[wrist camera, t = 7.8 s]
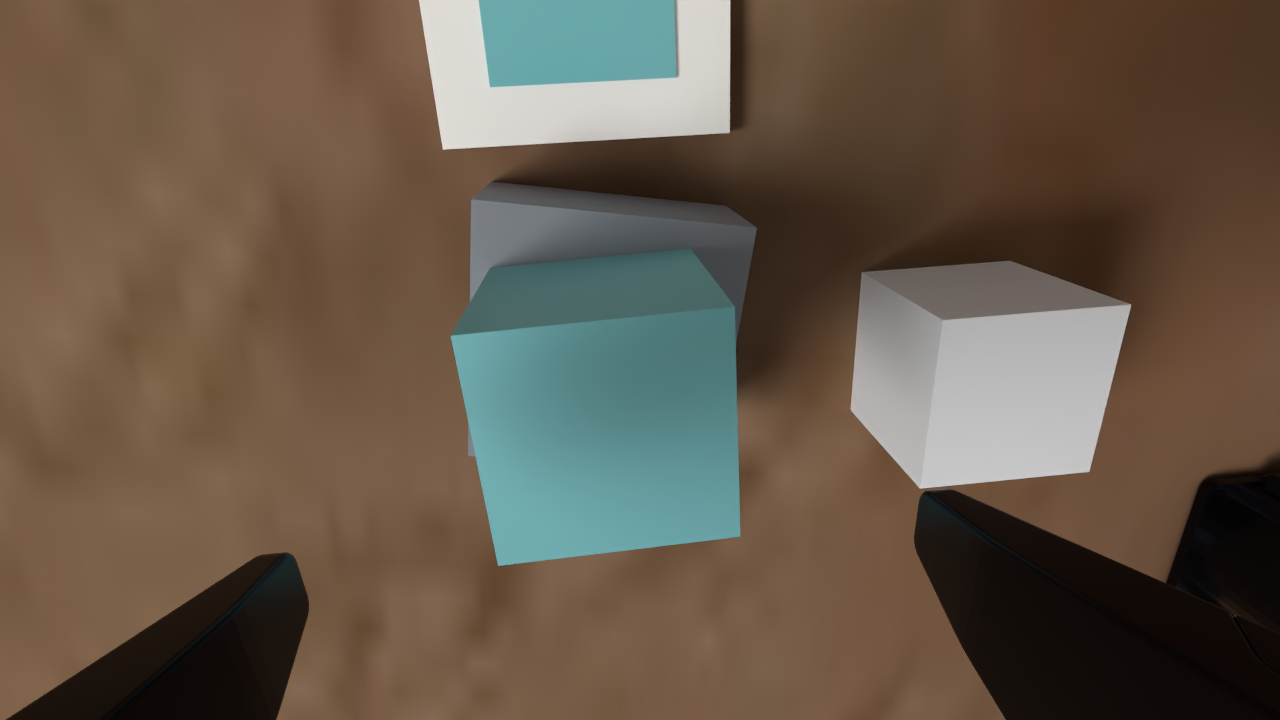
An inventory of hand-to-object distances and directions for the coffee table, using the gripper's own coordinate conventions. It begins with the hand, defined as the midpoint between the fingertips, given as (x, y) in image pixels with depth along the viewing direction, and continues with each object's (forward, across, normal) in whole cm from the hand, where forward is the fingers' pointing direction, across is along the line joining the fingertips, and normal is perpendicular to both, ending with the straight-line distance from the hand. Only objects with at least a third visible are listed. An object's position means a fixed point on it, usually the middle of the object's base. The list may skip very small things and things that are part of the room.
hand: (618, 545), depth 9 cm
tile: (+12, 0, -9) cm, 15 cm away
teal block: (+8, 0, 0) cm, 8 cm away
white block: (+12, -11, +2) cm, 16 cm away
